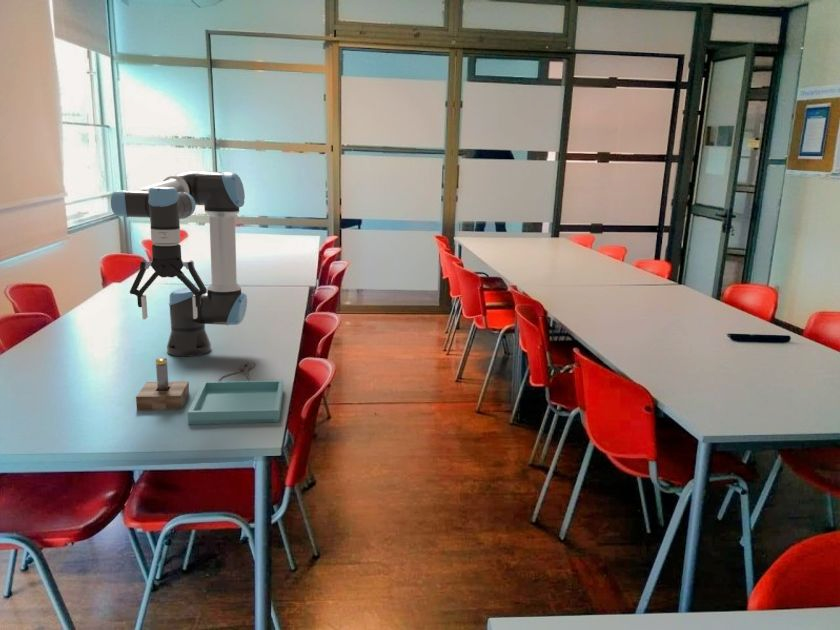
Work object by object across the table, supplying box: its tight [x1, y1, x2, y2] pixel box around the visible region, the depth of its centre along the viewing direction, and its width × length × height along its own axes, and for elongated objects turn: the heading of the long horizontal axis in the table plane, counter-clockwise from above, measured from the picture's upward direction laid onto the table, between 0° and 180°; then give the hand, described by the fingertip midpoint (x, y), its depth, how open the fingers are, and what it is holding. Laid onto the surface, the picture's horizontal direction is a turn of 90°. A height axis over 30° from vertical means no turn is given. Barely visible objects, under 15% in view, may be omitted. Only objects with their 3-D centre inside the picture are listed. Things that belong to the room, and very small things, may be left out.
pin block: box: [135, 380, 190, 411], centre depth 189 cm, size 12×12×4 cm
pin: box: [155, 357, 169, 391], centre depth 187 cm, size 3×3×13 cm
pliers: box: [217, 362, 256, 381], centre depth 215 cm, size 10×1×20 cm
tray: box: [187, 379, 284, 425], centre depth 187 cm, size 24×24×4 cm
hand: (170, 318), depth 183 cm, fingers open, 13 cm apart
